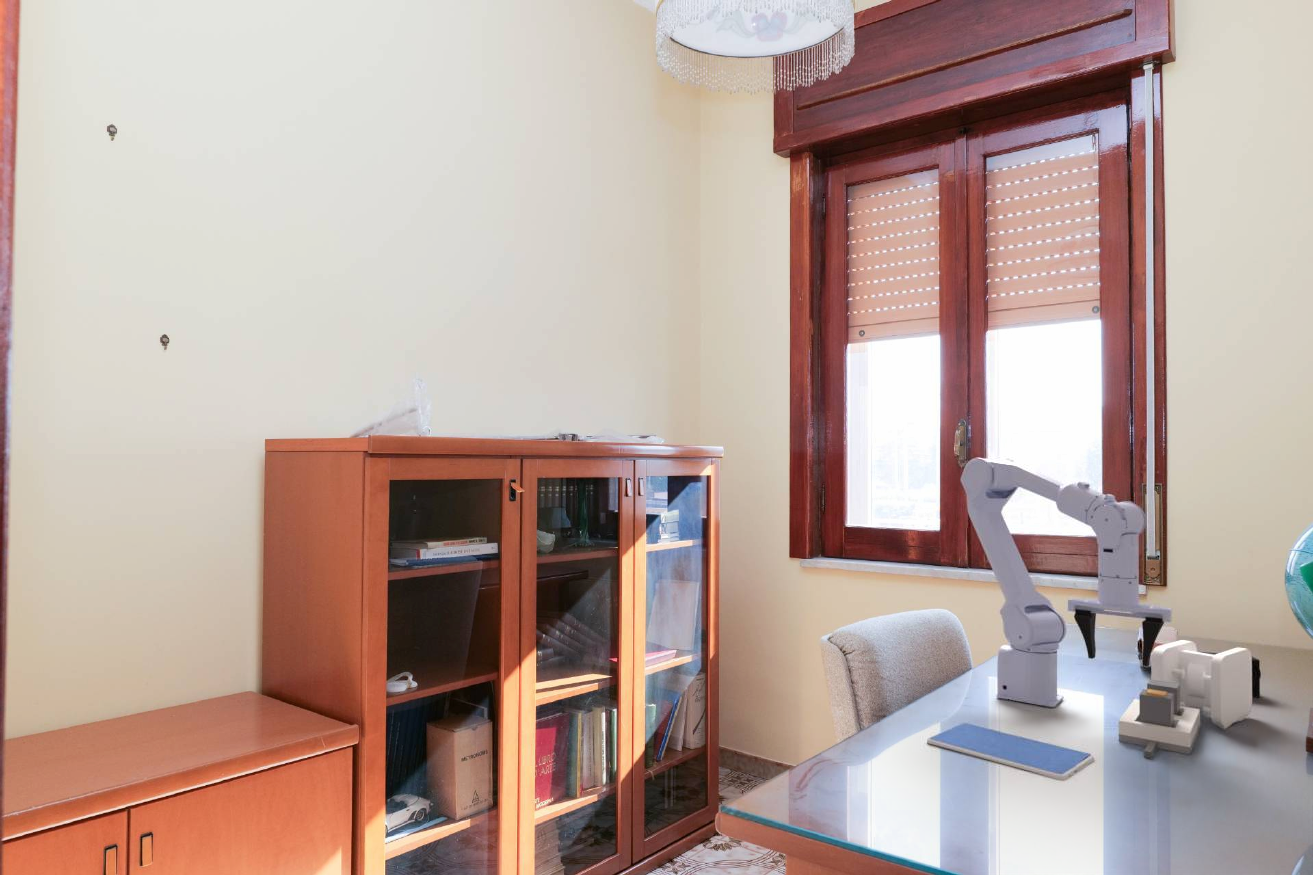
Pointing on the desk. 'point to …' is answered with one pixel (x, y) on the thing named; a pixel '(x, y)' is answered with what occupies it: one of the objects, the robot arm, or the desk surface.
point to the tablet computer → (1013, 750)
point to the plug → (1157, 707)
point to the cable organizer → (1207, 679)
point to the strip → (1157, 735)
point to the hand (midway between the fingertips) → (1118, 661)
